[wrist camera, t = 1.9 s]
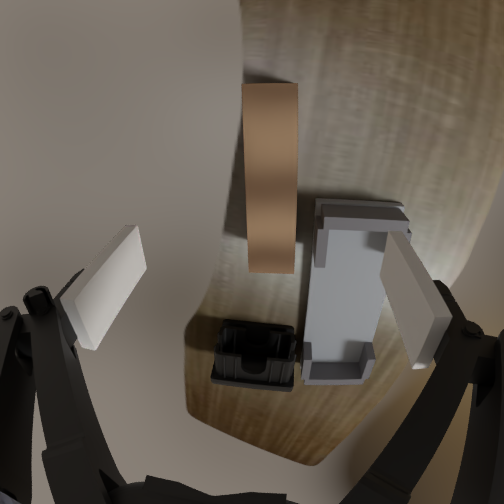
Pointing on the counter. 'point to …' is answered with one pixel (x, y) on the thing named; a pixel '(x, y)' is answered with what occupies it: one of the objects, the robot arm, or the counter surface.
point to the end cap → (255, 356)
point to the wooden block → (271, 174)
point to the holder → (346, 288)
